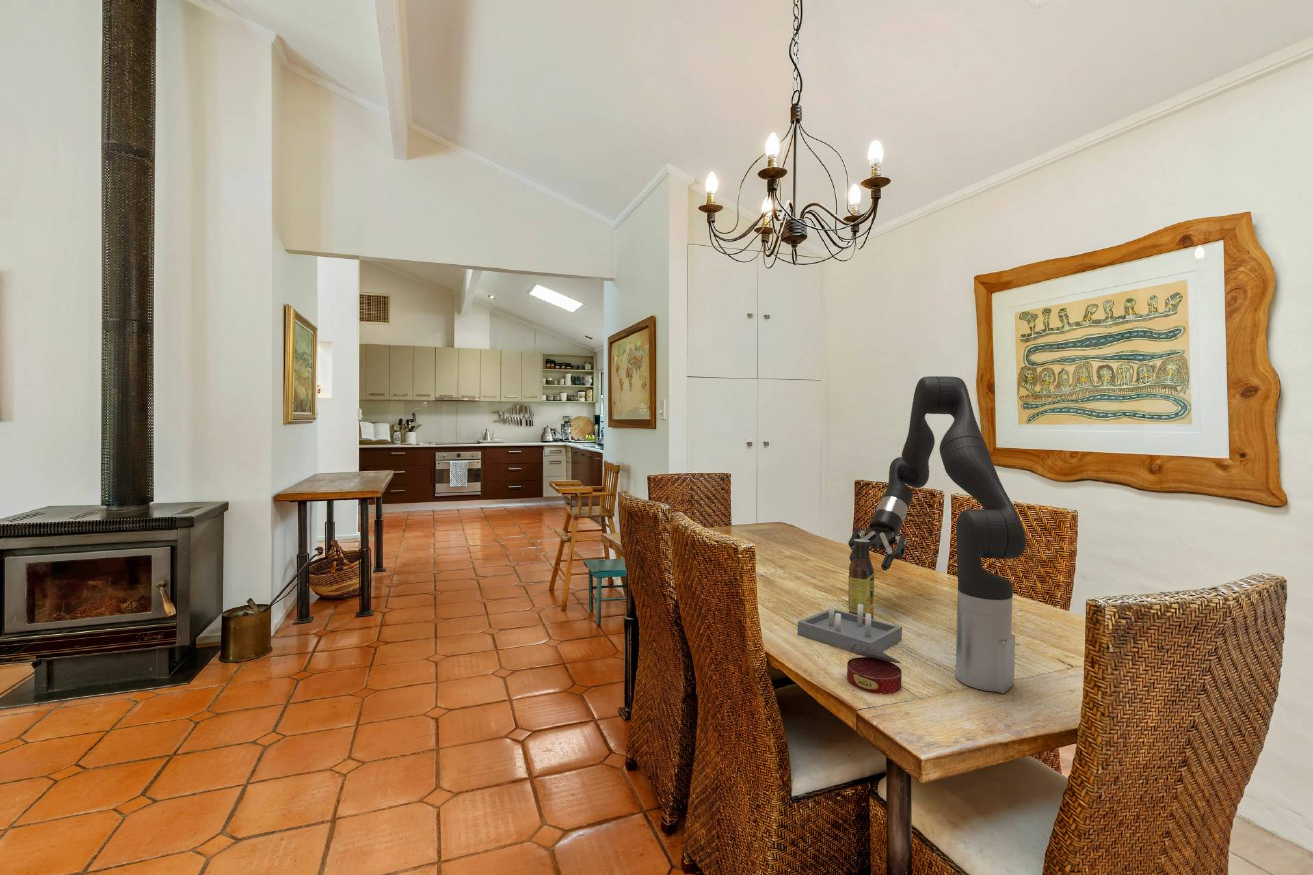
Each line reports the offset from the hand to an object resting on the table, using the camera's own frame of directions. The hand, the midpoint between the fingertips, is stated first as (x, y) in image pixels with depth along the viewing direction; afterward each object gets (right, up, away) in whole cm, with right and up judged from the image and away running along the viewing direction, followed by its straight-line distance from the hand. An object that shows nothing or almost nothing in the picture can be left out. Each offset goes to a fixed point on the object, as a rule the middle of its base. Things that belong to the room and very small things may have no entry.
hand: (867, 565), depth 150 cm
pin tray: (-10, -13, -15) cm, 23 cm away
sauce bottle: (-2, -13, -2) cm, 13 cm away
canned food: (-13, -14, -39) cm, 43 cm away
